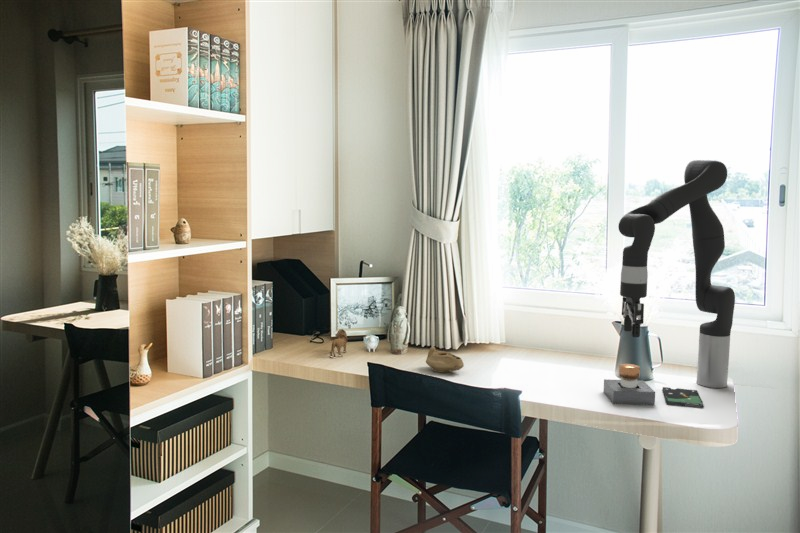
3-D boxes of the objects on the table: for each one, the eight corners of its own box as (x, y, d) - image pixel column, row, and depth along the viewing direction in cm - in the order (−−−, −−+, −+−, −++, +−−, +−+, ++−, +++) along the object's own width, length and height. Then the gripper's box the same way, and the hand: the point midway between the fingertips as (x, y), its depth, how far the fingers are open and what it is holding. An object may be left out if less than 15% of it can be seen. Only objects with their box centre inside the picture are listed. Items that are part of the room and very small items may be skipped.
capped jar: (615, 395, 200) (617, 363, 199) (635, 395, 200) (636, 364, 199) (620, 401, 194) (622, 368, 193) (641, 401, 194) (642, 369, 193)
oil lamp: (458, 377, 222) (458, 355, 221) (419, 371, 229) (419, 349, 228) (470, 370, 231) (471, 348, 230) (433, 364, 238) (433, 343, 238)
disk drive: (661, 395, 206) (666, 409, 192) (661, 386, 205) (666, 400, 191) (696, 398, 203) (704, 413, 189) (697, 389, 202) (704, 403, 188)
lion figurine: (335, 349, 260) (335, 328, 259) (348, 350, 260) (348, 328, 259) (328, 359, 246) (328, 335, 245) (342, 359, 245) (342, 336, 244)
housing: (603, 394, 204) (604, 379, 203) (642, 395, 203) (643, 380, 202) (613, 407, 192) (613, 390, 191) (654, 408, 191) (655, 392, 190)
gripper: (654, 284, 186) (651, 339, 187) (639, 278, 200) (637, 329, 202) (627, 283, 186) (625, 338, 188) (615, 277, 200) (612, 328, 202)
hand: (631, 333), depth 195 cm, fingers open, 8 cm apart
